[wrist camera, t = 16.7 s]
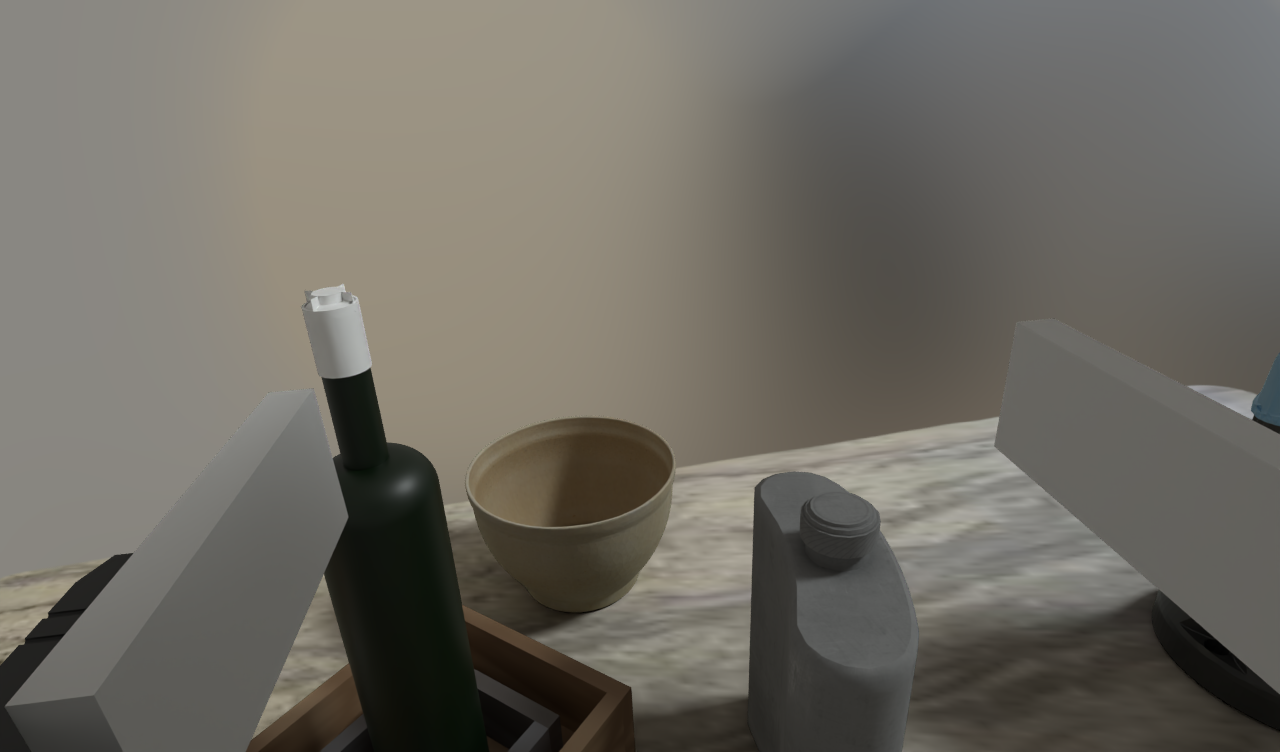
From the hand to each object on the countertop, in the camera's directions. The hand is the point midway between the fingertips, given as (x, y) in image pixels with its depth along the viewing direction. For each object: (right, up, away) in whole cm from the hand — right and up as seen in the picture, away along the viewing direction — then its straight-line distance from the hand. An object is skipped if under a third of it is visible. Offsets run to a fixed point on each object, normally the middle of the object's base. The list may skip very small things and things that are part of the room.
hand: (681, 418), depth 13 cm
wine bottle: (-12, -23, +27) cm, 38 cm away
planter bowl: (-6, -16, +46) cm, 49 cm away
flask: (+9, -24, +27) cm, 37 cm away
